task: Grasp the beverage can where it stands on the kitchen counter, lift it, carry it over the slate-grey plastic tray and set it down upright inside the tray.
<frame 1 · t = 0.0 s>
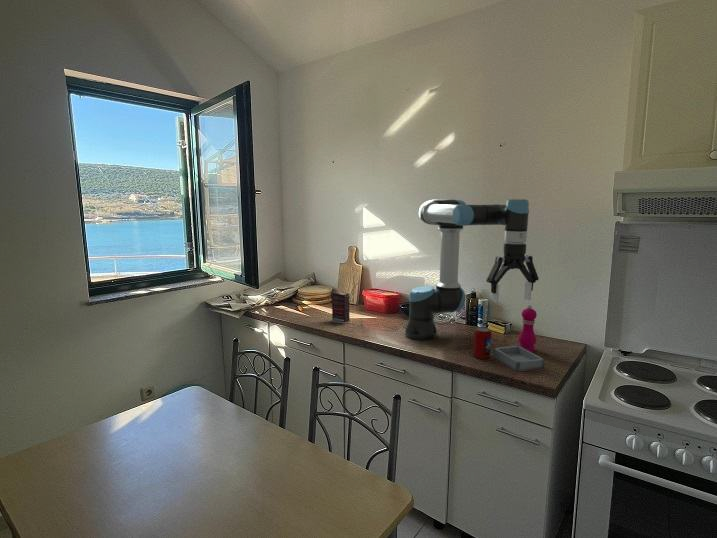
hand: (511, 300, 149), 28 cm above the kitchen counter, fingers open, 13 cm apart
beverage can: (481, 357, 170), on the kitchen counter
supplement box: (340, 322, 219), on the kitchen counter
tray: (517, 361, 164), on the kitchen counter
pepper mill: (526, 350, 178), on the kitchen counter
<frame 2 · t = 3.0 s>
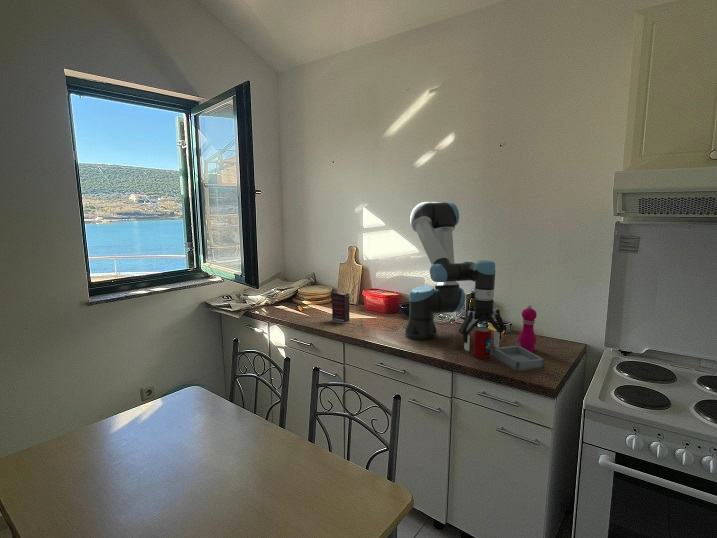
hand: (481, 348, 169), 4 cm above the kitchen counter, fingers open, 13 cm apart
nothing on the kitchen counter moved.
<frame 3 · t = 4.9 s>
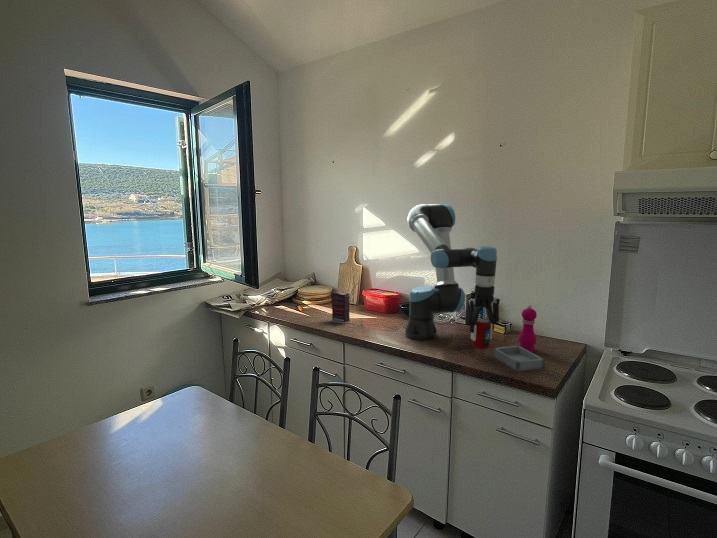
hand: (481, 338, 169), 7 cm above the kitchen counter, fingers closed on beverage can, 7 cm apart
beverage can: (480, 347, 170), point 4 cm above the kitchen counter, touching gripper
everything else where it was.
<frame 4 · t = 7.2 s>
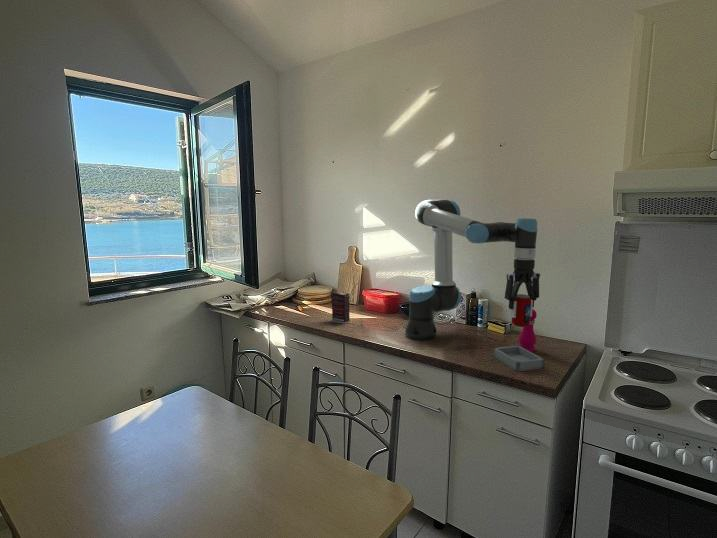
hand: (520, 316, 161), 19 cm above the kitchen counter, fingers closed on beverage can, 7 cm apart
beverage can: (520, 325, 161), point 15 cm above the kitchen counter, touching gripper
everything else where it was.
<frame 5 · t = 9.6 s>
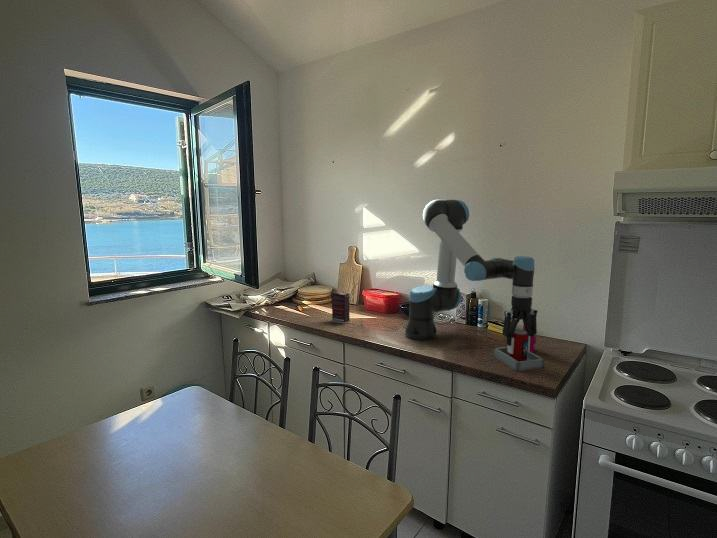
hand: (518, 351, 163), 4 cm above the kitchen counter, fingers closed on beverage can, 7 cm apart
beverage can: (517, 360, 164), point 1 cm above the kitchen counter, touching gripper, tray
everything else where it was.
when the fingers open (4 cm above the kitchen counter, at t = 10.6 s): beverage can stays where it is, resting on tray.
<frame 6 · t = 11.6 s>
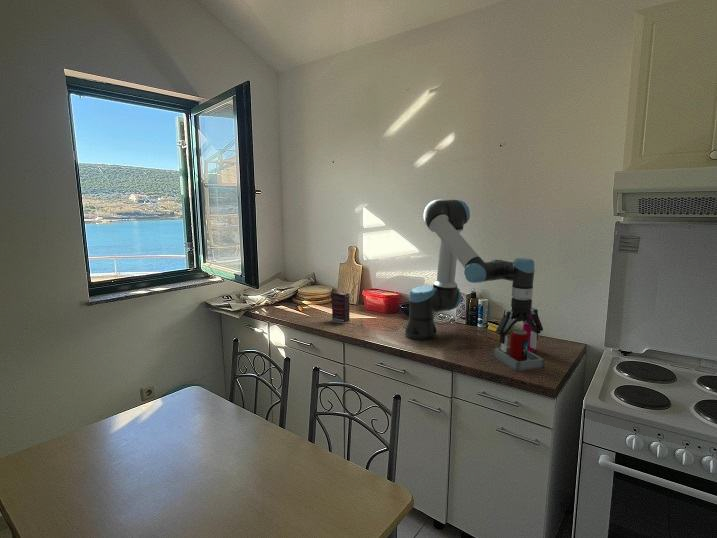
hand: (518, 349, 163), 5 cm above the kitchen counter, fingers open, 13 cm apart
beverage can: (517, 360, 164), point 1 cm above the kitchen counter, touching tray
everything else where it was.
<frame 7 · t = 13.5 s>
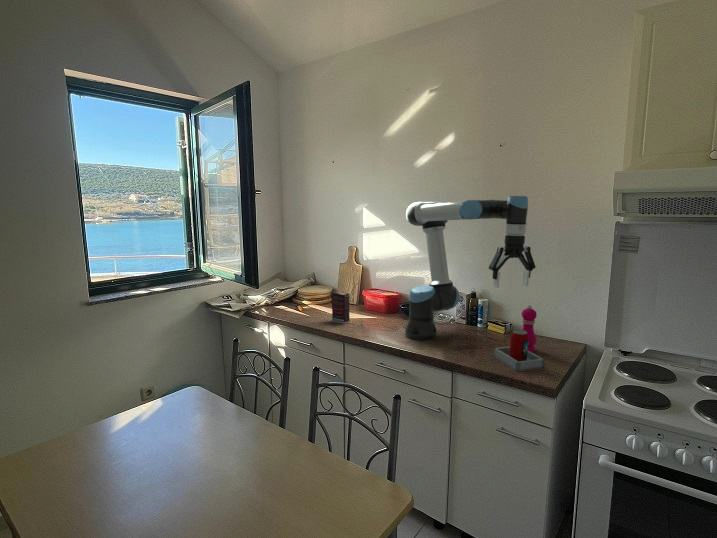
hand: (510, 286, 167), 29 cm above the kitchen counter, fingers open, 13 cm apart
nothing on the kitchen counter moved.
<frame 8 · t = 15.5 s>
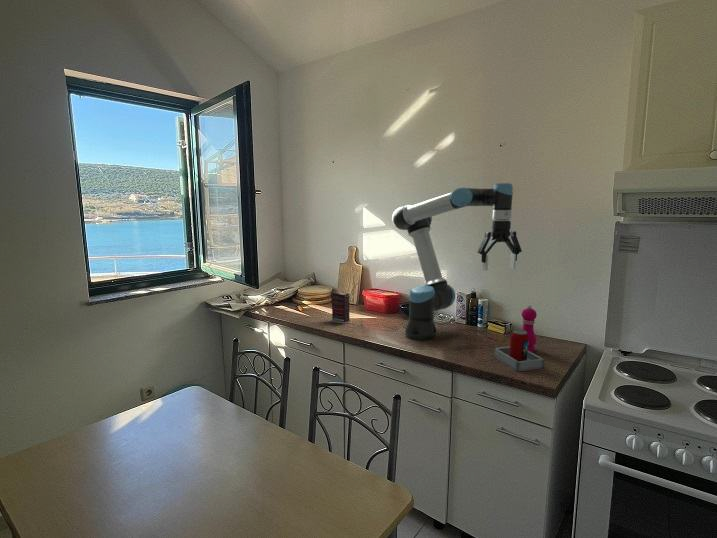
hand: (498, 269, 177), 35 cm above the kitchen counter, fingers open, 13 cm apart
nothing on the kitchen counter moved.
at the end: beverage can touching tray; beverage can tilted 0° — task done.
